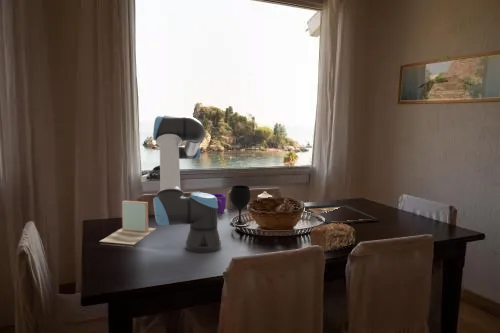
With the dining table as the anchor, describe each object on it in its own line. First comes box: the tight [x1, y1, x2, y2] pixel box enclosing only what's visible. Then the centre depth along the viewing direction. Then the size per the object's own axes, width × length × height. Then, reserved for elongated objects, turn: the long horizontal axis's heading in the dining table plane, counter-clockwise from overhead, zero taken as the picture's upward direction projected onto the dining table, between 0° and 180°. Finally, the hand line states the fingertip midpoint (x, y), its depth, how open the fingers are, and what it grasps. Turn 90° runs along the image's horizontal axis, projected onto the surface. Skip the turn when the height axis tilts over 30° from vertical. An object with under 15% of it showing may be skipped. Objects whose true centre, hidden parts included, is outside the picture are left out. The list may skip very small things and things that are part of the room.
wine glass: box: [229, 184, 251, 227], centre depth 199 cm, size 10×10×20 cm
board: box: [99, 227, 157, 248], centre depth 175 cm, size 24×16×1 cm, turn 171°
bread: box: [310, 223, 357, 252], centre depth 171 cm, size 19×11×10 cm, turn 122°
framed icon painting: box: [304, 203, 378, 224], centre depth 225 cm, size 38×35×3 cm
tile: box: [121, 200, 149, 232], centre depth 180 cm, size 2×12×14 cm, turn 81°
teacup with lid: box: [257, 191, 273, 200], centre depth 231 cm, size 12×9×12 cm
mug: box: [210, 193, 227, 215], centre depth 221 cm, size 17×11×10 cm, turn 22°
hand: (142, 179), depth 186 cm, fingers closed
